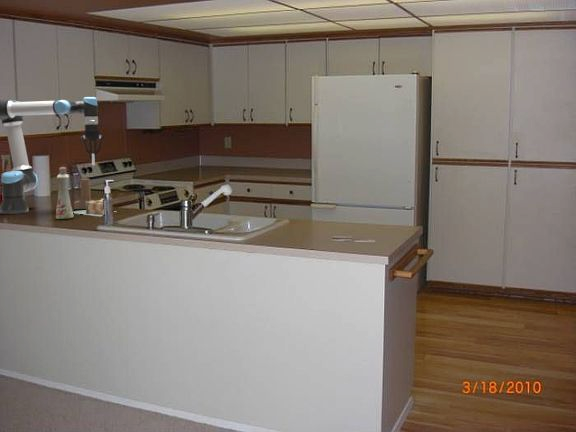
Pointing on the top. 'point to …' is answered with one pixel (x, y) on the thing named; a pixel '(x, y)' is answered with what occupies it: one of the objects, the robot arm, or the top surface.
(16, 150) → the robot arm
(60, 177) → the bottle
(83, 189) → the wooden block
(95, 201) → the fence panel
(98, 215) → the board
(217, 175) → the top surface
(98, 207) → the fence fixed leg
